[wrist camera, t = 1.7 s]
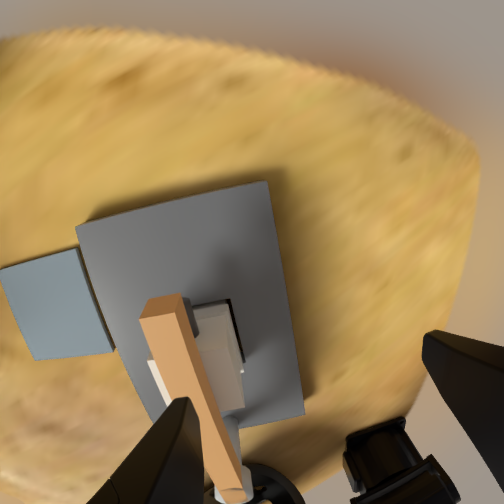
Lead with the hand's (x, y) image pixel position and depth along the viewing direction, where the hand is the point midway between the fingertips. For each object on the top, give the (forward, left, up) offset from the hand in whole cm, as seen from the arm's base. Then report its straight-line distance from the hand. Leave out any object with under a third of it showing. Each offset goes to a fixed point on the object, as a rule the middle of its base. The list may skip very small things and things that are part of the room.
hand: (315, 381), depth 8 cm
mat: (+16, +1, -13) cm, 21 cm away
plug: (+5, +5, -13) cm, 15 cm away
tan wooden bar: (+5, +6, -6) cm, 10 cm away
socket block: (+5, +5, -13) cm, 15 cm away
